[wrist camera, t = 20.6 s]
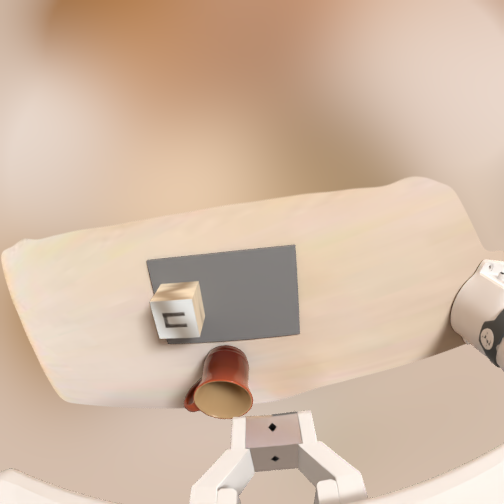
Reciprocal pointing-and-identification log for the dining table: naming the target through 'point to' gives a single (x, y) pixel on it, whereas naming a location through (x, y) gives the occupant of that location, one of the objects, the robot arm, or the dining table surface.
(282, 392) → the dining table surface
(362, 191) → the dining table surface
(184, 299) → the letter block
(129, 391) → the dining table surface
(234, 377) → the mug
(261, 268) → the mat
